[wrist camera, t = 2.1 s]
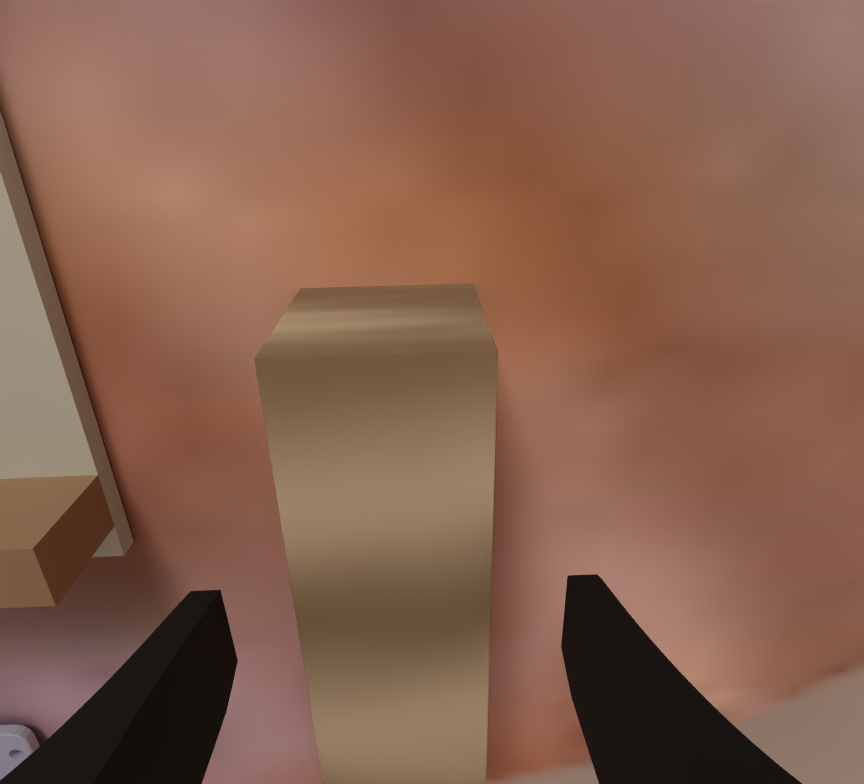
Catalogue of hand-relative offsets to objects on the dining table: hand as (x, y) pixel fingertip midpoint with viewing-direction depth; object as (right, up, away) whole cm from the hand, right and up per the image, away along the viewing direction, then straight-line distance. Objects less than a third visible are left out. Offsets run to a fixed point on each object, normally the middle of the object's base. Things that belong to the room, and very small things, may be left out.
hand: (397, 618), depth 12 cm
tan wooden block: (0, +2, +4) cm, 5 cm away
